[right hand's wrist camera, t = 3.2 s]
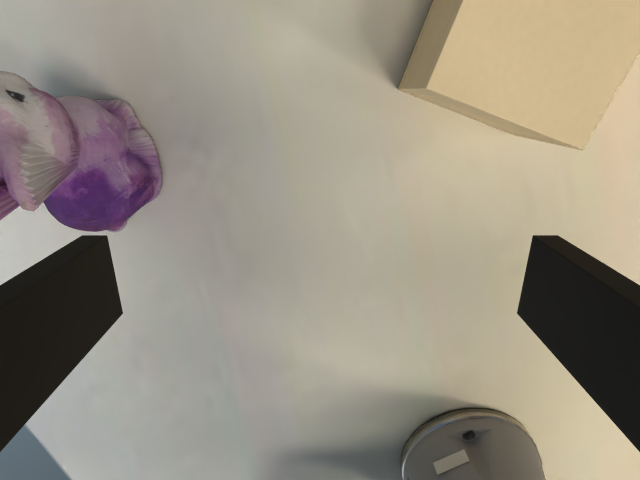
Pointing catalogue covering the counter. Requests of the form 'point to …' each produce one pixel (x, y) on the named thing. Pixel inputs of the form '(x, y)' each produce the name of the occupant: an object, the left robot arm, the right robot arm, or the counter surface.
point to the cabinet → (526, 63)
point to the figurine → (73, 157)
